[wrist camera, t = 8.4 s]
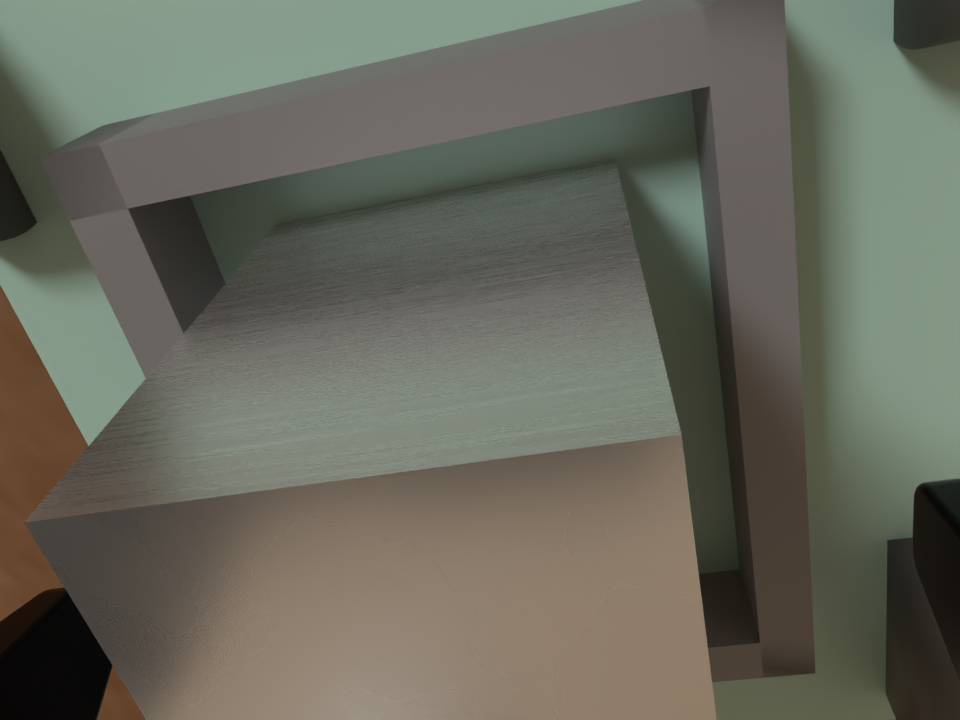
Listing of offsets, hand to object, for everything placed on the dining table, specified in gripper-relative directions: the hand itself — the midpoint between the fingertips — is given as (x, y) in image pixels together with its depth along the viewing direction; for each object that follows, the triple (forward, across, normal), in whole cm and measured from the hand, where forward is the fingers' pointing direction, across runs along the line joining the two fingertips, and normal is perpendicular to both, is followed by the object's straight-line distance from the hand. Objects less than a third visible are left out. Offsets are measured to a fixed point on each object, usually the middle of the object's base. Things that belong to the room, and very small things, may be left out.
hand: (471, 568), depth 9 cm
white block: (+4, 0, 0) cm, 4 cm away
